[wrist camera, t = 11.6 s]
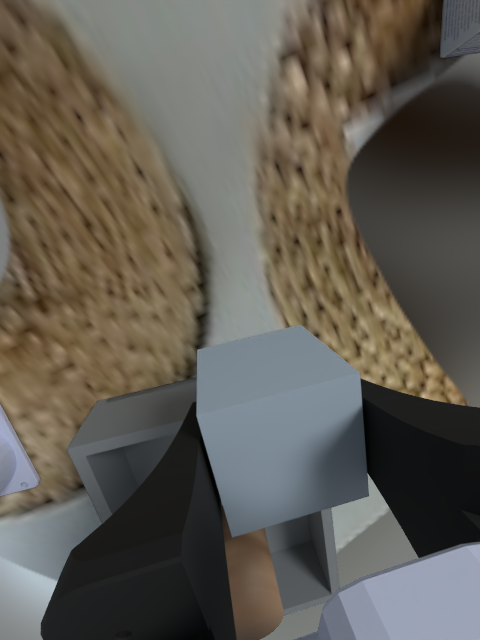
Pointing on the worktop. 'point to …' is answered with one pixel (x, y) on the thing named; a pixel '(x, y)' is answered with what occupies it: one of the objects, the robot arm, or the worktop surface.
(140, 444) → the tote
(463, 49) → the medicine box
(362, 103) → the worktop surface
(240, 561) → the brown potato
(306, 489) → the slate cube
